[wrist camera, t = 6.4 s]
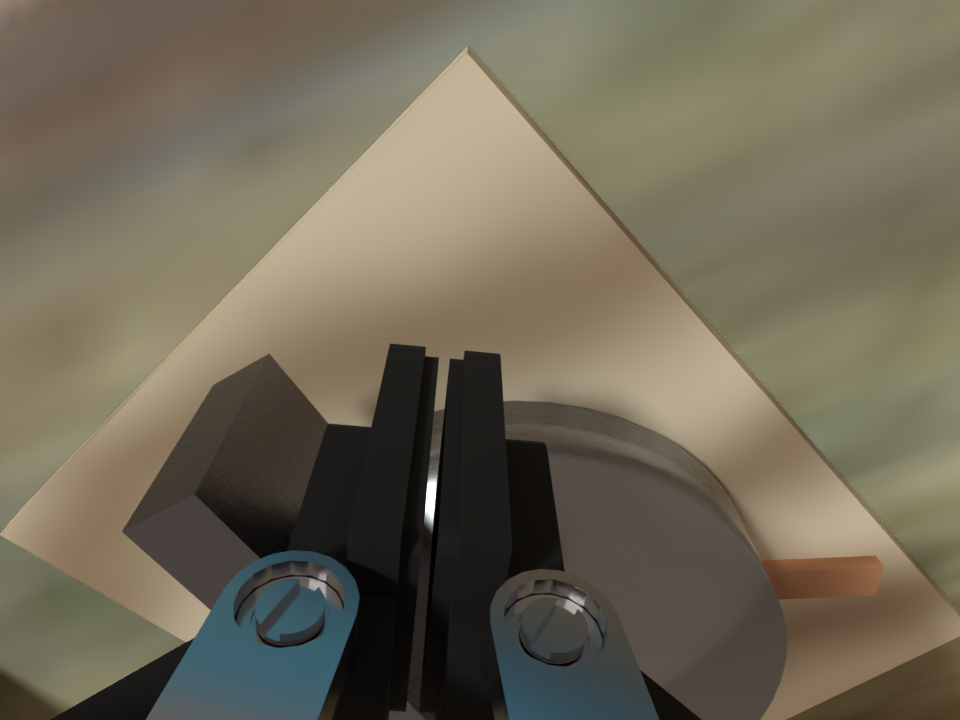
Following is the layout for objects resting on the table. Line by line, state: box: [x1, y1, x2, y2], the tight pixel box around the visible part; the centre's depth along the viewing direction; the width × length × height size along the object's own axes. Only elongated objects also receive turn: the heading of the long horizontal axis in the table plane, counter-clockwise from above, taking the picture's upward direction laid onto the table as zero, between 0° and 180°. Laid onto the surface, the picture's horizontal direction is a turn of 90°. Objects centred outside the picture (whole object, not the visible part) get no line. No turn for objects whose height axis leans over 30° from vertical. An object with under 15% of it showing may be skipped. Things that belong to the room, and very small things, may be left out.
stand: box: [0, 46, 960, 720], centre depth 18 cm, size 20×16×3 cm
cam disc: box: [122, 354, 787, 720], centre depth 15 cm, size 14×12×6 cm
